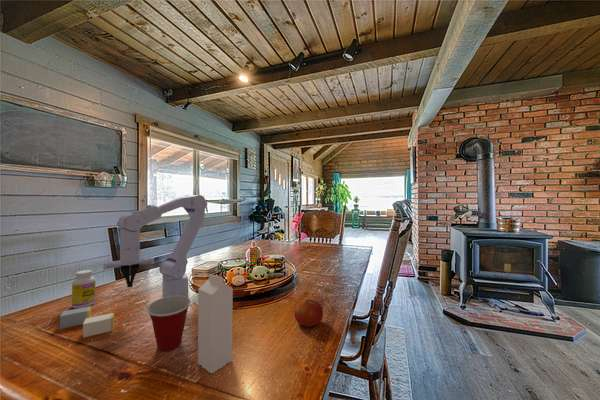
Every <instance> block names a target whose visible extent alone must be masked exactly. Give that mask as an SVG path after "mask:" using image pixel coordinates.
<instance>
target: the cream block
mask: <svg viewBox="0 0 600 400" xmlns="http://www.w3.org/2000/svg"><path fill="white" fill-rule="evenodd" d="M114 328H115V312H111V313H106V314H102V315H95V316H91V318H86V319H85V321H84V323H83V324H82V338H87V337H91V336H97V335H100V334H103V333H104V334H105V333H110V332H113V331H114Z"/></svg>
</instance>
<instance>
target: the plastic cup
mask: <svg viewBox="0 0 600 400" xmlns="http://www.w3.org/2000/svg"><path fill="white" fill-rule="evenodd" d="M191 302H192V301H191V299H190V297H189V296H188V297H186V296H180V295H178V296H168V297H164V298H161V297H160V298H159V299H156V300H154V301H152V302H151V303H150V304H148V306H147V307H146V310H147V311H146V312H147V313H148V314H149V316H150V319H151V320H150V321H151V323H152V327H153V334H154V339H155V343H156V347H157V349H158V351H160V352H170V351H173V350H175V349H177V348H178V347H179V346H180V345H181V342H182V340H183V335H184V334H183V333H184V331H185V324H186V318H187V313H188V310H189V306H190V305H191Z"/></svg>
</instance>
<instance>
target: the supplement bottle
mask: <svg viewBox="0 0 600 400" xmlns="http://www.w3.org/2000/svg"><path fill="white" fill-rule="evenodd" d="M92 275H93V269H84V270H80V271H76V273H75V277H76V278H75V279H73V280H72V282H71V285H72V286H71V289H72V290H71V307H72V308H73V309H78V308H84V307H90V306H92V305H94V304H95V303H96V278H95V276H92Z"/></svg>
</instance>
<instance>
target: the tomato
mask: <svg viewBox="0 0 600 400" xmlns="http://www.w3.org/2000/svg"><path fill="white" fill-rule="evenodd" d="M323 317H324V310H323V306H322V305H321V303H320V302H318V301H317V300H313V299H310V298H306V299H304V300H301V301H299V303H297V305H296V306H295V309H294V319H295V321H296V322H297V324H298V325H300V326H302V327H303V326H304V327H313V326H316V325H319V324H320V322H322V320H323Z"/></svg>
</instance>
